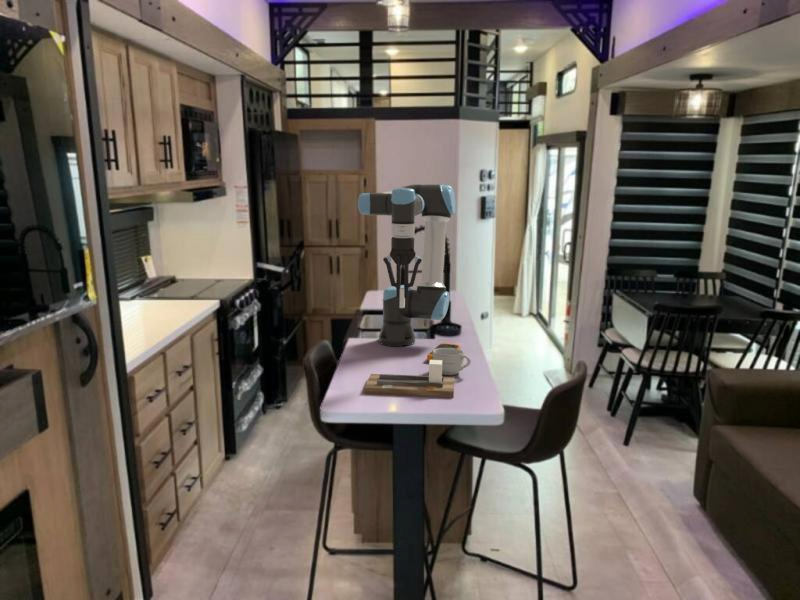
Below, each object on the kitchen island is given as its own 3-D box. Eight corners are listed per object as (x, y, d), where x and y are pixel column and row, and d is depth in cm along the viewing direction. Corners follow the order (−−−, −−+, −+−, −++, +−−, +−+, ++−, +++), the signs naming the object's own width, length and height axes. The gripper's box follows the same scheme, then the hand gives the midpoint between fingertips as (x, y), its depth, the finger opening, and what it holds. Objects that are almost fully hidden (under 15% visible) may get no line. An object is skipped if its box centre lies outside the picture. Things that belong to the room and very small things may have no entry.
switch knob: (429, 379, 192) (430, 359, 190) (441, 380, 191) (442, 360, 190) (428, 384, 187) (429, 364, 186) (441, 384, 187) (441, 364, 185)
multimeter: (461, 352, 230) (461, 343, 230) (448, 366, 214) (448, 356, 213) (440, 349, 233) (440, 341, 233) (426, 363, 217) (426, 354, 216)
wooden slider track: (370, 379, 198) (370, 370, 198) (454, 383, 196) (454, 373, 195) (364, 393, 186) (364, 383, 185) (453, 397, 183) (453, 387, 182)
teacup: (426, 372, 206) (426, 350, 204) (446, 365, 213) (447, 344, 212) (456, 382, 196) (457, 359, 195) (476, 375, 204) (477, 352, 202)
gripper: (381, 237, 188) (381, 309, 193) (422, 238, 187) (420, 310, 192) (384, 235, 196) (384, 304, 201) (423, 235, 195) (422, 305, 199)
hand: (402, 307), depth 196 cm, fingers closed
